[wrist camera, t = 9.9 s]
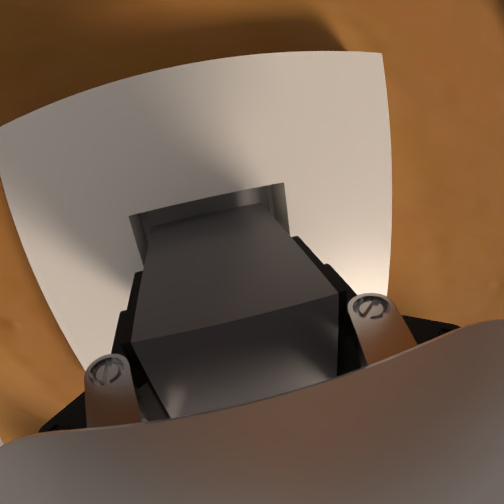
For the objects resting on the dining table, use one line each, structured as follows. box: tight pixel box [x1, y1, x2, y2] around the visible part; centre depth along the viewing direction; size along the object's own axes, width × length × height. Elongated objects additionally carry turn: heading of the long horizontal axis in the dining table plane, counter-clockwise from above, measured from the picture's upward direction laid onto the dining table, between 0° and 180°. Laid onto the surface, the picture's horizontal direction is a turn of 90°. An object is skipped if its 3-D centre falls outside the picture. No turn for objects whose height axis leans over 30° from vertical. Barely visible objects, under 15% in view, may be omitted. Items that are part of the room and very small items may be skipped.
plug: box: [131, 202, 339, 418], centre depth 11 cm, size 4×4×8 cm
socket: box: [0, 51, 392, 371], centre depth 14 cm, size 16×16×3 cm
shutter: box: [144, 186, 270, 235], centre depth 15 cm, size 5×5×1 cm
